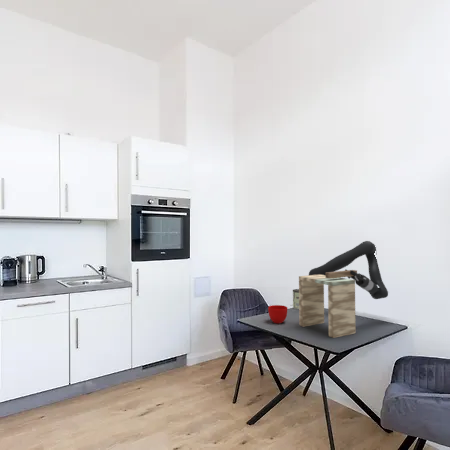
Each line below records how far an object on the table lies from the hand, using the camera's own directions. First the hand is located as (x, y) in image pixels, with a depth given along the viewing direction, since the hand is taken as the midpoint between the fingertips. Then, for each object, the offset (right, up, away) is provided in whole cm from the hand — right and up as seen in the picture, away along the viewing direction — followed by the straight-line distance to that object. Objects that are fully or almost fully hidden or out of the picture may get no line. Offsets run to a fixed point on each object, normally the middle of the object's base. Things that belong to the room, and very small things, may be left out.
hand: (348, 271), depth 216 cm
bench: (-14, -36, 0) cm, 39 cm away
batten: (-5, -3, -3) cm, 6 cm away
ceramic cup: (-41, -37, +19) cm, 59 cm away
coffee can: (-18, -37, +58) cm, 71 cm away
